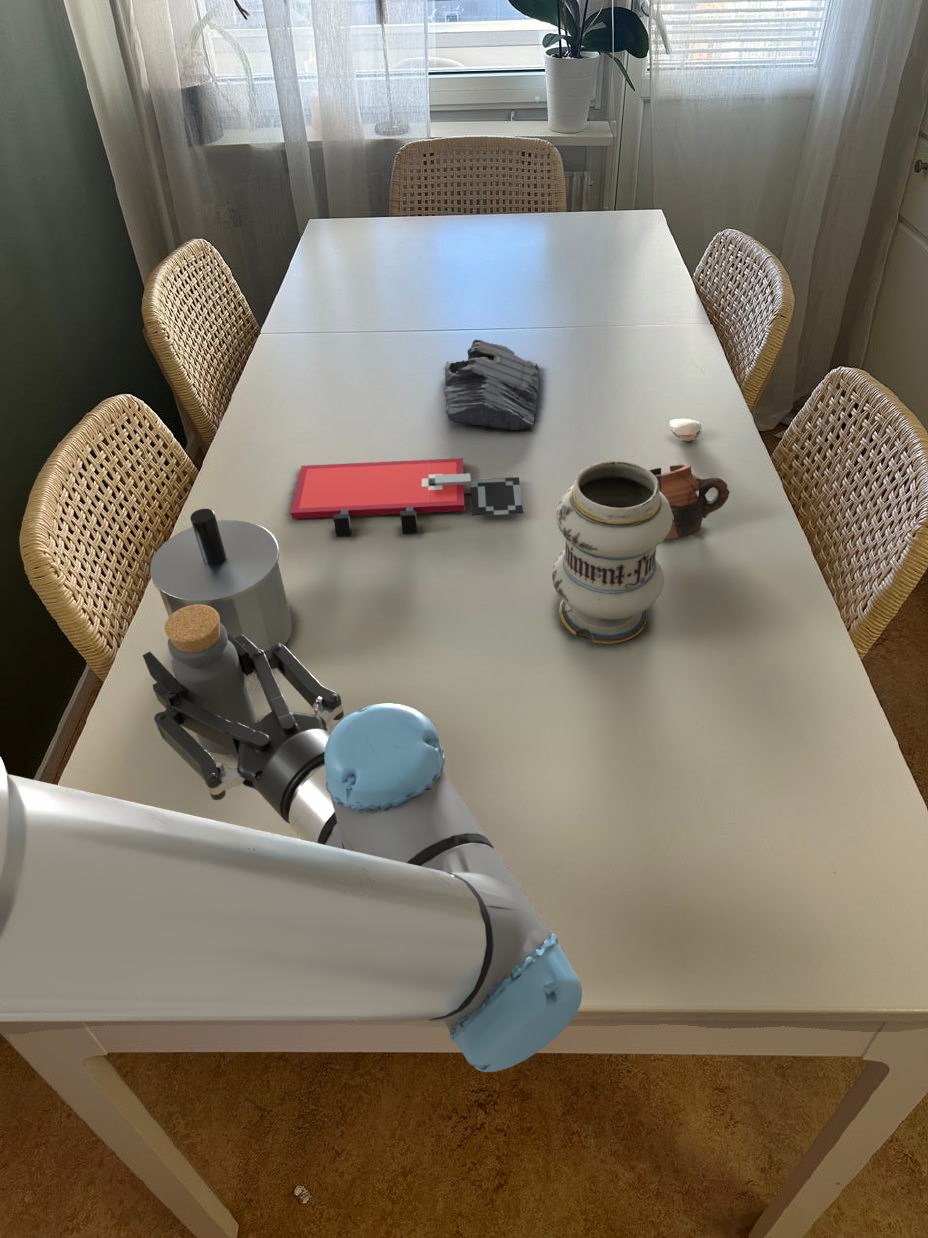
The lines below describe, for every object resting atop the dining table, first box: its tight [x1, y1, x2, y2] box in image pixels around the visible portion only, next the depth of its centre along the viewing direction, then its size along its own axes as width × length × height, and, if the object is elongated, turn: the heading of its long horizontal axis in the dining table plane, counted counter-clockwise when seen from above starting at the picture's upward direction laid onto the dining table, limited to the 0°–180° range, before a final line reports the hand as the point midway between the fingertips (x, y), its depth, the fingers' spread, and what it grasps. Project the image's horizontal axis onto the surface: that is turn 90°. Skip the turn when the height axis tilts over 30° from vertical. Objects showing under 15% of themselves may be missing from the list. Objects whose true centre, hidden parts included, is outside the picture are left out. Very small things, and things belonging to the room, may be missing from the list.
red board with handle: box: [290, 457, 524, 538], centre depth 115 cm, size 30×3×15 cm
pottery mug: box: [648, 463, 731, 541], centre depth 110 cm, size 12×10×8 cm
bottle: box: [164, 605, 258, 755], centre depth 80 cm, size 6×6×15 cm
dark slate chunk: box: [444, 339, 540, 431], centre depth 133 cm, size 15×22×5 cm
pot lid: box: [149, 508, 280, 604], centre depth 89 cm, size 13×13×7 cm
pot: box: [159, 562, 293, 651], centre depth 94 cm, size 12×12×10 cm
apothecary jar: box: [551, 460, 673, 645], centre depth 92 cm, size 12×12×18 cm
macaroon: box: [669, 418, 702, 442], centre depth 124 cm, size 4×5×2 cm
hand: (181, 646), depth 83 cm, fingers closed on bottle, 6 cm apart
